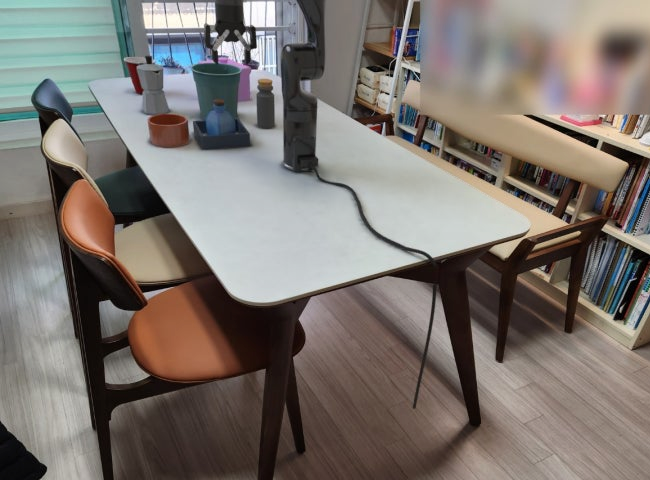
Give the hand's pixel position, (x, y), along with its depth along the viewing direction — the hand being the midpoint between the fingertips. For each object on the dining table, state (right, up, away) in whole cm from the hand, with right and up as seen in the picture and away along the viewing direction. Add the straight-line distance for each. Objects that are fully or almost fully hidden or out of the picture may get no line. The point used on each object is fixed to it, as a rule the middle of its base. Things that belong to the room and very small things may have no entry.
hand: (231, 63), depth 151 cm
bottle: (+4, -10, +27) cm, 29 cm away
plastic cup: (-45, +7, +46) cm, 64 cm away
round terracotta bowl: (-21, -20, +8) cm, 30 cm away
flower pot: (-12, -6, +31) cm, 34 cm away
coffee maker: (-35, -4, +30) cm, 46 cm away
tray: (-7, -19, +13) cm, 23 cm away
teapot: (-17, +7, +50) cm, 53 cm away
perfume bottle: (-7, -19, +13) cm, 24 cm away
